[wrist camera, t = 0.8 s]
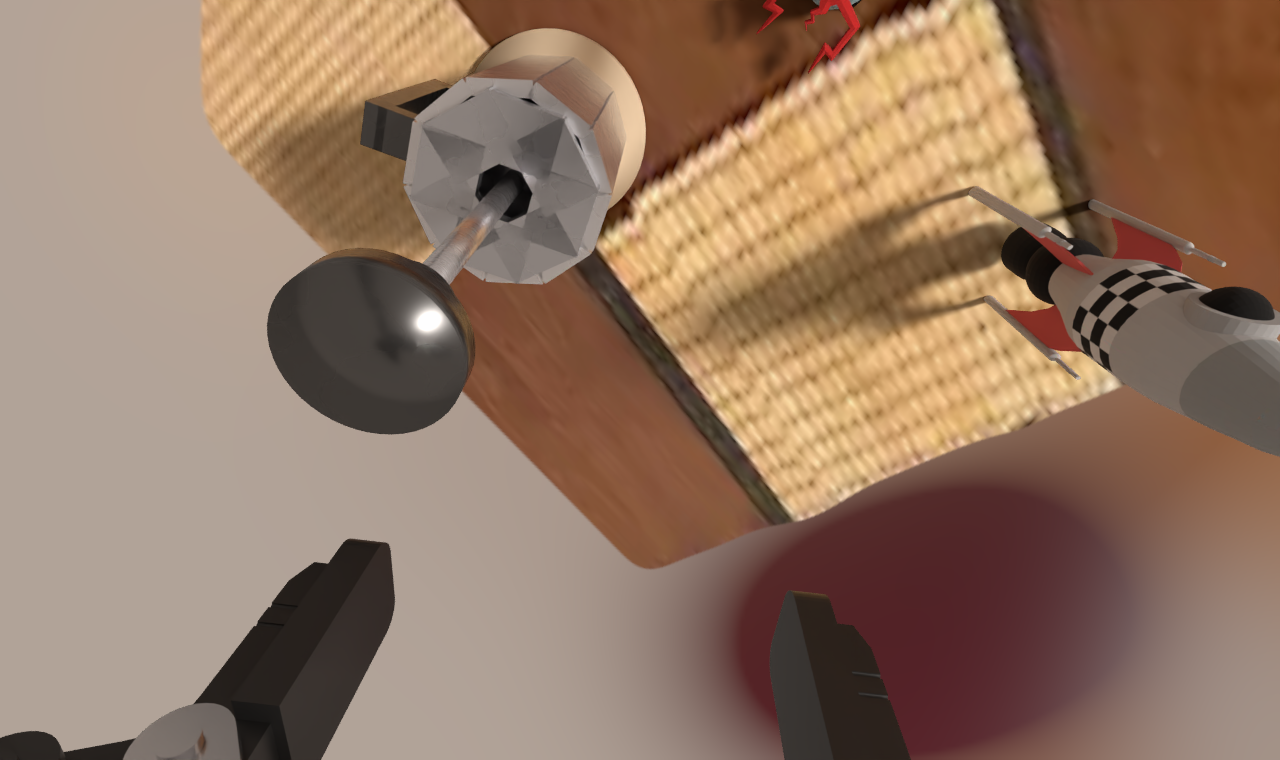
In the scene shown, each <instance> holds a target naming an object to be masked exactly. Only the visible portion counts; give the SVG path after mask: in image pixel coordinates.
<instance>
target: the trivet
mask: <svg viewBox="0 0 1280 760" xmlns="http://www.w3.org/2000/svg"><path fill="white" fill-rule="evenodd" d="M526 55H548V56H571V57H574V59H575V58H578V59H579V60H580V61H581V62H582V63H583V64H585V65H586V66H587V67H588V68H589V69H590V70H592V71H593V72H594V73H595V74H596V75H597V76H599V77H600V78H601V79H602V80H603V81H605V82H606V83H607V84H608V85H609V86H610V87H612V88H613V89H612V91H614V92H615V95H616V99H617V103H618V106H619V110H620V113H621V117H622V121H623V124H624V128H625V131H626V135H627V137H626V138H627V139H626V143H625V147H624V151H623V155H622V158H621V162H620V166H619V170H618V174H617V178H616V182H615V186H614V190H613V194H612V197H611V200H610V203H609V206H608V209H609V208H611V207H612V206H613V205H615V204H616V203H617V202H618V201H619V200H620V199H621V198H622V197H623V196H624V194H625V193H626V192H627V190H628V189H629V188H630V186H631V185H632V183H633V181H634V179H635V178H636V175H637V173H638V171H639V168H640V166H641V162H642V159H643V155H644V148H645V140H646V126H645V116H644V111H643V107H642V103H641V100H640V97H639V94H638V91H637V89H636V87H635V85H634V83H633V81H632V79H631V77H630V76H629V74H628V73H627V71H626V70H625V68H624V67H623V66H622V65H621V64H620V62H619V61H618V60H617V59H616V58H615V57H614V56H613V55H612V54H611V53H610V52H609V51H607V50H606V49H605V48H604V47H602V46H601V45H599V44H598V43H596V42H595V41H593V40H591V39H589V38H587V37H585V36H583V35H581V34H578V33H575V32H572V31H568V30H562V29H553V28H543V29H535V30H529V31H525V32H522V33H518V34H516V35H514V36H512V37H510V38H507V39H506V40H504V41H503V42H501V43H500V44H498V45H497V46H495V47H494V48H493V49H492V50H491V51H490V52H489V53H488V54H487V55H486V56H485V57H484V59H483V60H482V61H481V62H480V63H479V65H478V67H477V68H476V70H475V72H474V73H473V74H475V73H478V72H481V71H484V70H487V69H489V68H492V67H495V66H498V65H501V64H504V63H506V62H509V61H512V60H515V59H518V58H520V57H523V56H526ZM608 209H607V210H608Z"/></svg>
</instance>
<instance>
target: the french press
mask: <svg viewBox="0 0 1280 760" xmlns="http://www.w3.org/2000/svg"><path fill="white" fill-rule="evenodd" d="M612 89H613V88H612V87H610V86H609V85H608V84H607V83H606V82H605V81H603V80H602V79H601V78H600V77H599V76H597V75H596V74H595V73H594V72H593V71H592V70H590V69H589V68H588V67H587V66H586V65H585V64H583V63H582V62H581V61H580V60H579V59H578V58H575V59H574V57H571V56H548V55H526V56H523V57H520V58H518V59H515V60H512V61H509V62H506V63H504V64H501V65H498V66H495V67H492V68H489V69H487V70H484V71H481V72H478V73H475V74H473V75H470V76H467V77H464V78H462V79H461V80H459V81H458V82H457V83H456V84H455V85H453V86H451V85H449V84H446V83H444V82H441V81H438V80H436V79H433V80H430V81H427V82H424V83H420V84H417V85H414V86H411V87H408V88H404V89H401V90H398V91H395V92H392V93H389V94H385V95H382V96H379V97H376V98H373V99H370V100H366V101H365V109H364V117H363V125H362V134H361V142H360V144H361V145H364V146H366V147H369V148H372V149H375V150H377V151H380V152H383V153H386V154H388V155H391V156H394V157H397V158H399V159H402V160H405V161H406V166H405V173H404V179H403V183H404V184H406V185H405V186H403V187H404V189H405V191H406V193H407V195H408V197H409V200H410V202H411V204H412V206H413V208H414V210H415V212H416V214H417V217H418V219H419V221H420V223H421V225H422V227H423V229H424V231H425V233H426V236H427V238H428V240H429V242H430V244H432V243H434V245H433V247H434V248H437V247H438V246H439V245H440V244H441V243H442V242H443V241H444V240H445V239H446V238H447V237H448V236H449V235H450V233H451V232H452V231H453V230H454V229H455V228H456V227H457V226H458V225H459V224H460V223H461V222H462V221H463V219H464V218H465V217H466V216H467V215H468V214H469V213H470V212H471V211H472V210H473V209H474V208H475V207H476V205H477V204H478V203H479V202H480V201H481V200H482V199H483V196H482V194H481V192H480V191H479V189H480V185H481V180H482V176H483V172H484V171H486V170H488V169H490V168H492V167H494V166H496V165H498V164H501V165H504V166H506V167H509V168H512V169H514V170H517V171H520V172H521V173H522V175H523V177H524V178H525V180H526V182H527V184H528V186H529V188H530V189H531V191H532V197H531V201H530V204H529V208H528V210H527V211H525V212H523V213H521V214H518V215H516V216H514V217H512V218H511V217H508V216H505V215H502V216H501V218H500V219H499V220H498V222H497V223H496V224H495V226H494V227H493V228H492V230H491V231H490V232H489V234H488V235H487V236H486V237H485V239H484V240H483V241H482V243H481V244H480V245H479V247H478V248H477V249H476V251H475V252H474V253H473V255H472V256H471V257H470V259H469V260H468V261H467V262H466V264H465V265H464V266H463V267H464V268H465V269H467V270H468V271H470V272H471V273H472V274H474V275H475V276H477V277H478V278H480V279H481V280H484V279H485V277H486V282H503V283H518V284H519V283H524V284H543V283H544V282H545V284H546V283H547V282H549V281H550V280H552V279H553V278H555V277H557V276H558V275H560V274H561V273H563V272H564V271H566V270H567V269H569V268H570V267H572V266H573V265H575V264H576V263H578V262H579V261H581V260H582V259H584V258H586V257H587V256H589V255H590V254H591V253H592V251H593V250H594V247H595V244H596V241H597V238H598V235H599V232H600V229H601V226H602V224H603V221H604V218H605V215H606V212H607V209H608V206H609V203H610V200H611V197H612V194H613V190H614V186H615V182H616V178H617V174H618V170H619V166H620V162H621V158H622V155H623V151H624V147H625V143H626V139H627V138H626V137H627V135H626V131H625V128H624V124H623V121H622V117H621V113H620V110H619V106H618V103H617V99H616V95H615V92H614V91H612Z"/></svg>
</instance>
